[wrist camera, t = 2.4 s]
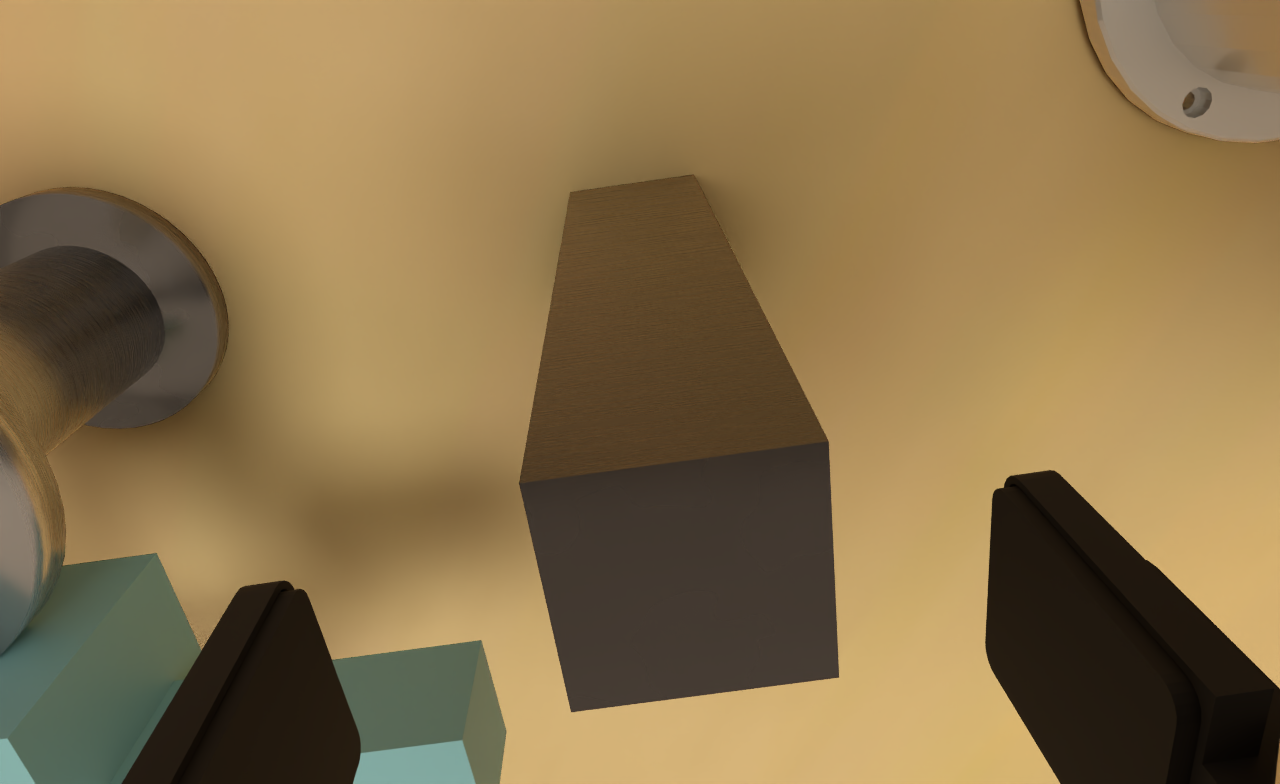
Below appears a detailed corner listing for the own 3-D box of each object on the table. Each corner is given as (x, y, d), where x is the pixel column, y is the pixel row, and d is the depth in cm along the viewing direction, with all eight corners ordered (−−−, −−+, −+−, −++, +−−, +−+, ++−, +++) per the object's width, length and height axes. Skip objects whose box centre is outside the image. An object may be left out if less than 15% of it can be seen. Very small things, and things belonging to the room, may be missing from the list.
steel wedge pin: (693, 174, 27) (828, 441, 11) (706, 292, 29) (839, 677, 12) (570, 192, 27) (518, 483, 11) (589, 309, 29) (571, 712, 13)
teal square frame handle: (463, 511, 22) (416, 685, 16) (531, 767, 25) (511, 976, 20) (-190, 600, 22) (-453, 798, 16) (-26, 838, 26) (-193, 1062, 20)
